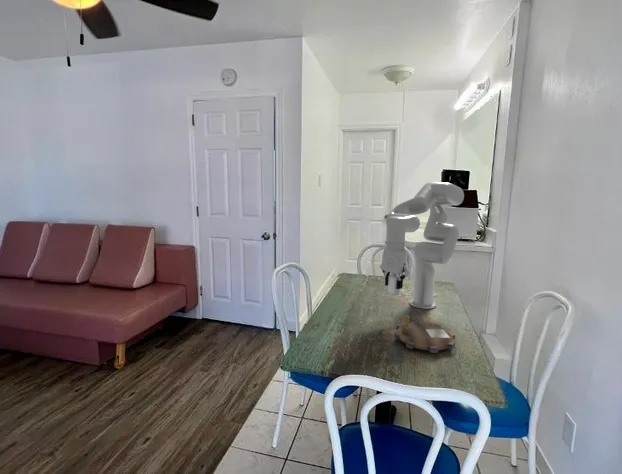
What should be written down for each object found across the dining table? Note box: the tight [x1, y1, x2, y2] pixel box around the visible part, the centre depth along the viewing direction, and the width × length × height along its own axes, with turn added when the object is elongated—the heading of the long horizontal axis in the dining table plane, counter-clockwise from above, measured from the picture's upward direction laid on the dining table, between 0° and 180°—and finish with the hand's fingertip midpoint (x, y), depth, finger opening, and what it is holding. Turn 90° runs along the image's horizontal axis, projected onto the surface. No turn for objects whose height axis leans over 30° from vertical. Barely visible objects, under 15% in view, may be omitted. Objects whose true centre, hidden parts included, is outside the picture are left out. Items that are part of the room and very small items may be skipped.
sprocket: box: [393, 314, 456, 354], centre depth 134 cm, size 23×23×9 cm
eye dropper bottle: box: [387, 273, 400, 296], centre depth 151 cm, size 4×6×12 cm
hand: (393, 286), depth 151 cm, fingers closed on eye dropper bottle, 5 cm apart
